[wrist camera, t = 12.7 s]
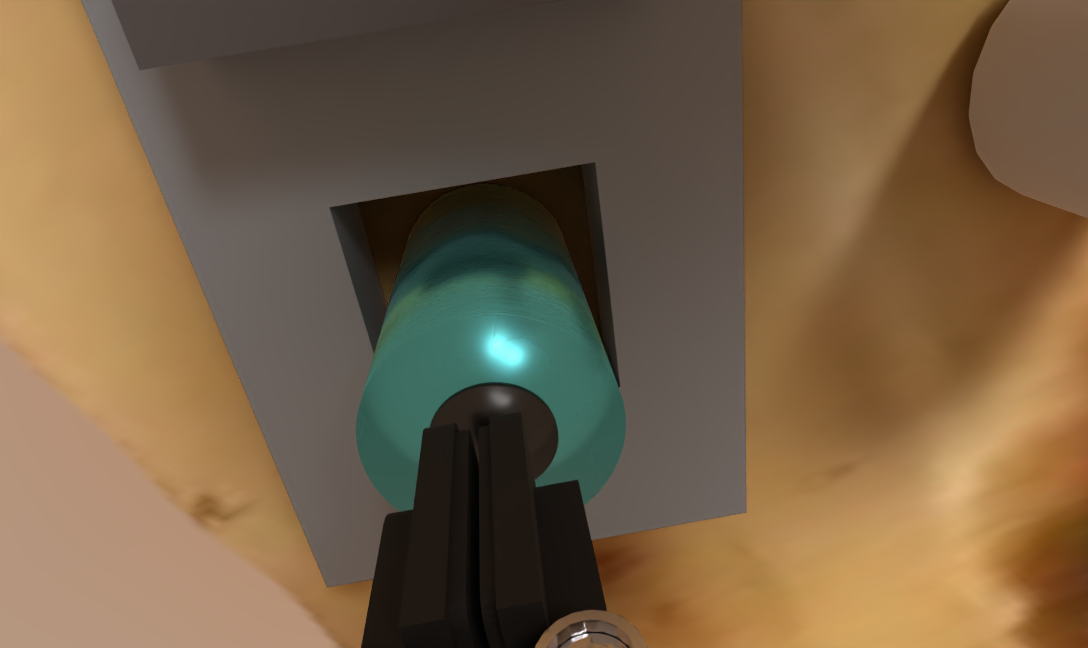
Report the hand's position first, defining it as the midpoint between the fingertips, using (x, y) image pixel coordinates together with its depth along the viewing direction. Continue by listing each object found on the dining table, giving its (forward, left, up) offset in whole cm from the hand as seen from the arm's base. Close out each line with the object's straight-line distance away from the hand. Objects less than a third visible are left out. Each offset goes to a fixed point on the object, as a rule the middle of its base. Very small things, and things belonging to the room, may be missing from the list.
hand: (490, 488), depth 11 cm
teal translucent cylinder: (0, 0, -10) cm, 10 cm away
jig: (-2, 0, -10) cm, 10 cm away
